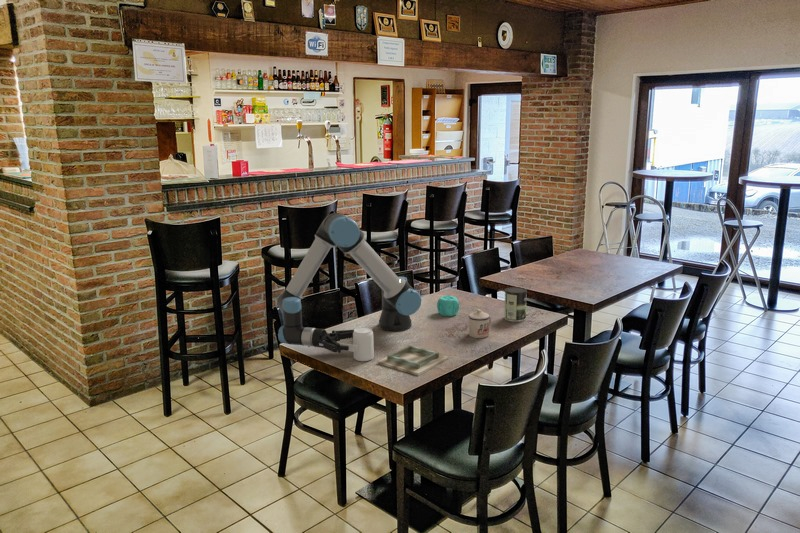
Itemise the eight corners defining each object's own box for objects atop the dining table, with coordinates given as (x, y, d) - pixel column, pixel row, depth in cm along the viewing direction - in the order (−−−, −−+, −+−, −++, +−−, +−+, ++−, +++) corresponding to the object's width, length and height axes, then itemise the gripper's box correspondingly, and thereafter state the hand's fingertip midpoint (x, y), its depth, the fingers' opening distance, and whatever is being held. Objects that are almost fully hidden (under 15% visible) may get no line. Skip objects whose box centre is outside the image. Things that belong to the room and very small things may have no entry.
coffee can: (525, 315, 293) (526, 287, 290) (526, 322, 283) (527, 293, 280) (503, 314, 295) (504, 286, 292) (504, 321, 285) (504, 292, 282)
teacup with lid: (479, 340, 262) (479, 314, 259) (464, 334, 269) (464, 309, 266) (498, 333, 269) (498, 308, 267) (482, 328, 276) (483, 304, 273)
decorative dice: (445, 317, 293) (445, 301, 291) (436, 312, 300) (436, 297, 298) (459, 314, 296) (459, 298, 295) (450, 310, 303) (450, 294, 301)
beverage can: (376, 360, 242) (375, 331, 239) (357, 363, 239) (356, 334, 236) (370, 353, 250) (369, 325, 247) (351, 356, 247) (350, 328, 244)
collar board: (377, 363, 239) (377, 356, 238) (408, 348, 254) (408, 341, 253) (418, 375, 227) (418, 368, 226) (448, 358, 242) (448, 351, 241)
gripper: (328, 335, 261) (374, 340, 255) (301, 357, 238) (351, 363, 232) (327, 319, 260) (374, 323, 253) (300, 339, 237) (351, 344, 230)
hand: (363, 342), depth 242 cm, fingers open, 13 cm apart
